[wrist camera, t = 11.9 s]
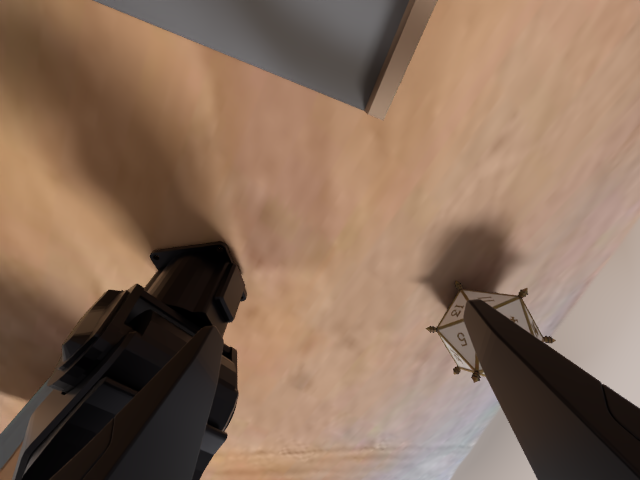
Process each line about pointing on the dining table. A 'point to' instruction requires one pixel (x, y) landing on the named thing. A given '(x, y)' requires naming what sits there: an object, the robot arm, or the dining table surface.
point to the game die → (457, 334)
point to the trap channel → (304, 39)
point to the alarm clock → (18, 433)
